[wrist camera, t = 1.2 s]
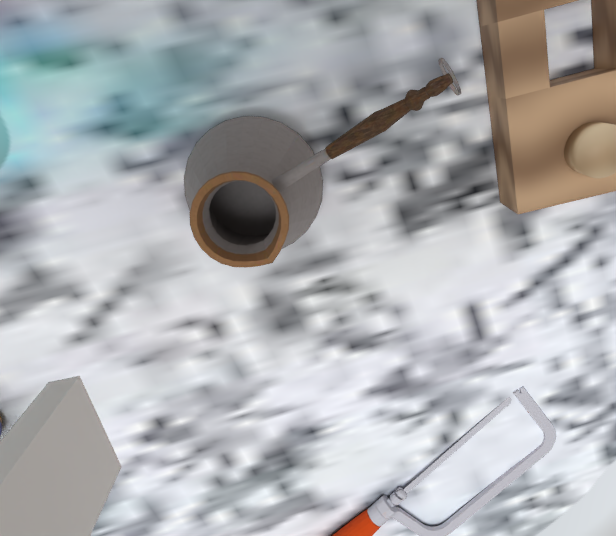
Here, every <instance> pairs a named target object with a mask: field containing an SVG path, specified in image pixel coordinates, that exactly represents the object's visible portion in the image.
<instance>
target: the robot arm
mask: <svg viewBox="0 0 616 536" xmlns="http://www.w3.org/2000/svg"><path fill="white" fill-rule="evenodd" d="M120 469H121V465H120V463H119V460H118V458H117V456H116V454H115V452H114V450H113V447H112V445H111V443H110V441H109V439H108V437H107V434H106V432H105V430H104V428H103V426H102V424H101V421H100V419H99V417H98V415H97V413H96V411H95V409H94V406H93V404H92V402H91V400H90V398H89V396H88V393H87V391H86V389H85V387H84V385H83V383H82V380H81V378H80V376H77V377H72V378H67V379H62V380H58V381H53V382H48V384H47V385H46V386H45V387H44V389H43V390H42V391H41V392H40V393H39V395H38V396H37V397H36V398H35V400H34V401H33V402H32V403H31V405H30V406H29V407H28V408H27V410H26V411H25V412H24V413H23V414H22V416H21V417H20V418H19V419H18V421H17V422H16V423H15V424H14V426H13V427H12V428H11V429H10V430H9V432H8V433H7V434H6V435H5V437H4V438H3V439H2V440H1V442H0V536H90V535H91V533H92V530H93V528H94V526H95V524H96V522H97V519H98V517H99V515H100V513H101V511H102V508H103V506H104V504H105V502H106V500H107V497H108V495H109V493H110V491H111V489H112V487H113V484H114V482H115V480H116V478H117V476H118V473H119V471H120Z"/></svg>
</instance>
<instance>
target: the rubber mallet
mask: <svg viewBox="0 0 616 536" xmlns="http://www.w3.org/2000/svg"><path fill="white" fill-rule="evenodd" d="M1 432H2V419H1V417H0V435H1Z"/></svg>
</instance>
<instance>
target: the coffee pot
mask: <svg viewBox="0 0 616 536" xmlns="http://www.w3.org/2000/svg"><path fill="white" fill-rule="evenodd" d="M443 64H444V65H445V67H446V68H447V70H448V71H449V73H450V74H449V73H448V74H447V73H446V71H445V68H444V66H443ZM439 65H440V68H441V70H442V73H443V75H444V76H440V77H438V78H436V79H433V80H431V81H430V82H429V83H428V84H427V85H426V87H424V88H422V89H420V90H409V91H408V92H407V94H406V97H405V99H403V100H401V101H399V102H397V103H394V104H392V105H390V106H388V107H386V108H384V109H381V110H379V111H376V112H374V113H373V114H372V115H370V116H369V117H367V118H366V119H365V120H363V121H362V122H360V123H359V124H357V125H356V126H355V127H353V128H352V129H350V130H349V131H348V132H346V133H345V134H343V135H342V136H341V137H339V138H338V139H336V140H335V141H334V142H332V143H331V144H329V145H328V146H327V147H326V148H325V149H324V150H322V151H320V152H319V153H317V154H315V155H314V153H313V151H312V149H311V147H310V146H309V145H308V144H307V143H306V142H305V141H304V140H303V138H302V137H301V136H300V135H299V134H298V133H297V132H295V131H294V130H292V129H290V128H289V127H287V126H286V125H284V124H283V123H281V122H278V121H274V120H271V119H268V118H265V117H253V116H243V117H239V118H234V119H230V120H226V121H224V122H222V123H221V124H219V125H217V126H215V127H213V128H212V129H210V130H209V131H208V132H207V133H206V134H205V135H204V136H203V137H202V138H201V139H200V140H199V141H198V142H197V143H196V145H195V147H194V149H193V151H192V152H191V154H190V156H189V158H188V161H187V166H186V170H185V175H184V187H185V197H186V200H187V203H188V206H189V210H190V226H191V229H192V232H193V235H194V238H195V240H196V241H197V243H198V244H199V246H200V247H201V249H202V250H203V251H204V252H205V253H207V254H208V255H209V256H210V257H211V258H213V259H214V260H216V261H218V262H220V263H222V264H225V265H229V266H232V267H254V266H261V265H265V264H270V263H273V261H274V260H275V258H276V257H277V255H278V254H279V252H280V250H281V249H282V248H284V247H286V246H288V245H290V244H292V243H294V242H295V241H296V240H297V239H298V238H300V237H301V236H302V235H303V234H304V233H305V232H306V231H307V230H308V228H309V227H310V225H311V224H312V222H313V221H314V219H315V218H316V216H317V213H318V210H319V207H320V204H321V201H322V190H323V180H322V175H321V171H320V166H321V165H322V164H324V163H325V162H327V161H328V160H330V159H333V158H335V157H337V156H339V155H341V154H343V153H345V152H346V151H348V150H350V149H352V148H354V147H356V146H358V145H360V144H361V143H363V142H365V141H367V140H369V139H371V138H373V137H375V136H376V135H378V134H380V133H382V132H384V131H386V130H387V129H388V128H389V127H391V126H392V125H393V124H394V123H395V122H397V121H398V120H399V119H400V118H402V117H403V116H404V115H405V114H407V113H408V112H409V111H410V110H415V111H418V110H420V109H421V108H422V106H423V103H424V101H425V100H427V99H429V98H430V97H433V96H437V95H439V94H440V93H441V92H443V91H444V90H445V89H446V88H447V87H448V86H450V87H451V89H452V90H453V92H454V93H455V94H456V95H460V94H461V89H460V86H459V84H458V81H457V79H456V77H455V75H454V73H453V71H452V70H451V68H450V67H449V65H448V63H447V62H446V61H445V60H444V59H443V58H440V59H439ZM453 81H454V83H455V86H456V88H457V89H456V88H455V87H454V85H453V84H452V83H453Z"/></svg>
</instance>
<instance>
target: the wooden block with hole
mask: <svg viewBox="0 0 616 536" xmlns="http://www.w3.org/2000/svg"><path fill="white" fill-rule="evenodd" d="M574 1H577V0H477V8H478V16H479V25H480V33H481V42H482V50H483V59H484V67H485V76H486V84H487V93H488V101H489V110H490V118H491V127H492V135H493V144H494V153H495V161H496V170H497V178H498V187H499V195H500V203H502V204H503V205H505V206H506V207H508V208H509V209H511V210H512V211H514V212H515V213H517V214H521V213H526V212H530V211H534V210H538V209H542V208H546V207H551V206H555V205H559V204H563V203H567V202H571V201H576V200H580V199H584V198H588V197H592V196H596V195H601V194H605V193H609V192H613V191H616V0H591V4H592V27H593V50H594V69H591V70H587V71H583V72H579V73H576V74H572V75H568V76H564V77H560V78H556V79H553V80H549V69H548V56H547V42H546V29H545V16H544V9H548V8H552V7H555V6H559V5H563V4H566V3H570V2H574Z"/></svg>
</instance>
